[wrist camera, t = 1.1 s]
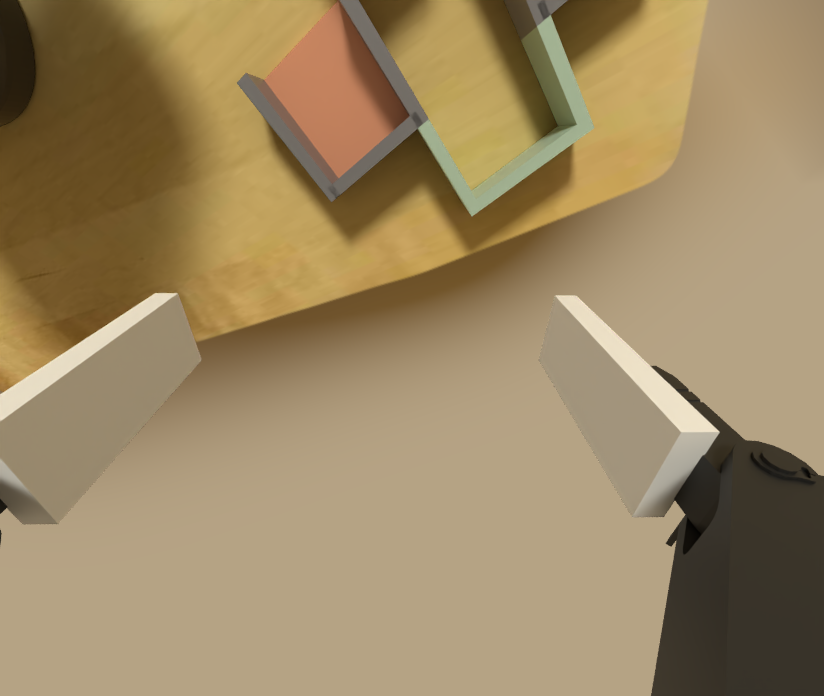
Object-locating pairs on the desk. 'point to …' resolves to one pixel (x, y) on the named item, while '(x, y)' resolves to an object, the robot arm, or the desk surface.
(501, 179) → the box
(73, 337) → the desk surface
